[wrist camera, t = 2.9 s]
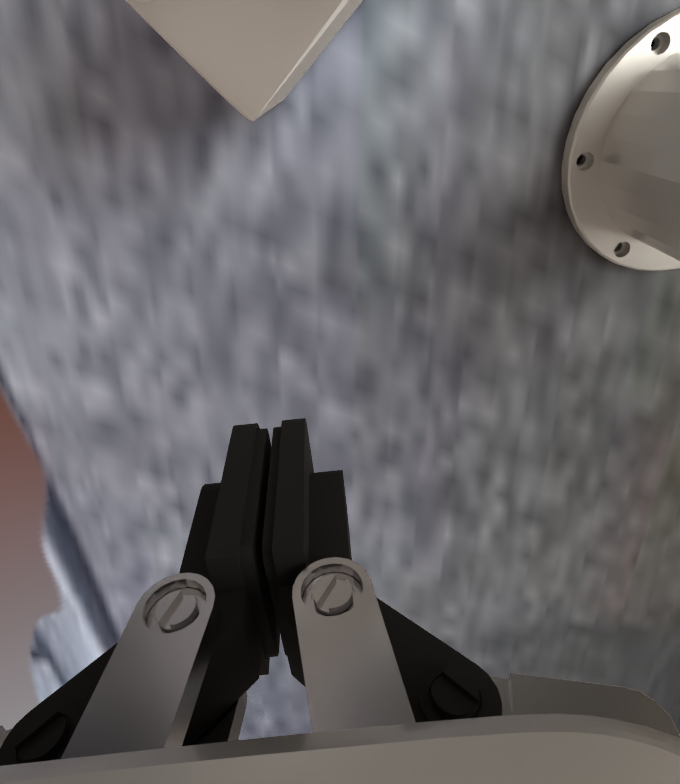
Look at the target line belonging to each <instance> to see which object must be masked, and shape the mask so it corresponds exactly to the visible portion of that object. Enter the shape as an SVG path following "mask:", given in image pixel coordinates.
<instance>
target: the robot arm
mask: <svg viewBox="0 0 680 784" xmlns="http://www.w3.org/2000/svg"><path fill="white" fill-rule="evenodd" d="M653 39H654V41H655V44H654V47H653V48H652V49H651V43H652V40H653ZM580 155H582V160H581V162H580V163H579V164H576V162H577V159H578V157H579V156H580ZM562 193H563V197H564V202H565V206H566V211H567V213H568V216H569V218H570V220H571V222H572V224H573V226H574V229H575V230H576V232H577V233H578V234H579V235H580V237H581V238H582V239H583V240H584V242H585V243H586V244H587V245H588V246H589V247H591V248H592V249H593V250H595V251H596V252H597V253H598V254H600V255H601V256H603V257H604V258H606V259H608V260H609V261H611V262H613V263H615V264H618V265H621V266H624V267H627V268H630V269H634V270H642V271H654V272H655V271H665V270H675V269H679V268H680V8H679V9H676V10H674V11H672V12H671V13H669V14H667V15H665V16H663V17H661V18H660V19H658V20H656V21H654V22H652V23H651V24H649V25H648V26H647V27H645V28H644V29H643V30H642V31H640V32H639V33H638V34H636V35H635V36H634V37H633V38H631V39H630V40H629V41H627V42H626V43H625V44H624V45H623V46H622V47H621V48H620V50H619V51H618V52H617V53H616V54H615V55H614V56H613V57H612V58H611V59H610V60H609V61H608V62H607V63H606V64H605V66H604V67H603V68H602V70H601V71H600V73H599V74H598V75H597V77H596V78H595V80H594V81H593V83H592V84H591V85H590V87H589V88H588V90H587V92H586V94H585V96H584V98H583V99H582V101H581V103H580V105H579V107H578V109H577V111H576V113H575V115H574V118H573V121H572V124H571V127H570V130H569V133H568V136H567V139H566V143H565V149H564V155H563V161H562ZM617 245H618V246H617ZM616 246H617V247H616ZM615 247H616V248H615ZM280 634H281V639H282V643H283V647H284V651H285V655H287V657H288V661H289V665H290V669H291V674H292V675H293V676H294V677H295V678H296V679H297V680H298V681H299V682H300V683H302V684H303V685H304V686H305V687H306V693H307V700H308V706H309V713H310V720H311V726H312V733H307V734H297V735H287V736H277V737H267V738H258V739H248V740H238V738H239V734H240V730H241V726H242V722H243V717H244V713H245V709H246V703H247V692H246V691H247V690H248V689H249V688H250V687H251V686H252V685H253V684H254V683H255V682H256V681H257V680H258V679H259V675H266V674H269V660H270V657H274V656H278V654H279V642H280ZM0 784H680V735H679V732H678V730H677V729H676V727H675V725H674V723H673V721H672V719H671V717H670V716H669V715H668V714H667V712H666V711H665V710H664V709H663V708H662V707H661V706H660V705H659V704H658V703H657V702H656V701H654V700H653V699H651V698H649V697H648V696H646V695H645V694H643V693H641V692H639V691H635V690H632V689H629V688H625V687H619V686H611V685H603V684H595V683H587V682H579V681H571V680H564V679H556V678H548V677H540V676H532V675H524V674H516V673H510V676H509V678H501V677H494V676H489V675H488V674H487V673H486V672H485V671H484V670H483V669H481V668H480V667H479V666H478V665H477V664H475V663H474V662H472V661H471V660H469V659H468V658H466V657H465V656H463V655H462V654H460V653H459V652H457V651H456V650H454V649H453V648H451V647H450V646H448V645H447V644H445V643H444V642H442V641H441V640H439V639H438V638H436V637H435V636H433V635H432V634H430V633H429V632H427V631H426V630H424V629H423V628H421V627H420V626H418V625H417V624H415V623H414V622H412V621H411V620H409V619H408V618H406V617H405V616H403V615H402V614H400V613H399V612H397V611H396V610H394V609H393V608H391V607H390V606H388V605H387V604H385V603H384V602H382V601H381V600H379V599H378V598H376V595H375V592H374V589H373V585H372V582H371V579H370V577H369V576H368V574H367V572H366V570H365V569H364V568H362V567H361V566H360V565H359V564H358V563H356V562H354V561H352V558H351V547H350V536H349V526H348V515H347V506H346V496H345V487H344V479H343V471H342V470H338V471H329V472H319V473H314V470H313V463H312V456H311V450H310V443H309V436H308V430H307V423H306V419H305V418H303V419H293V420H284V421H282V425H281V427H275V428H274V429H273V438H272V448H271V443H270V438H269V433H268V430H267V428H266V429H260V428H259V425H258V424H257V423H255V424H245V425H236V426H233V429H232V434H231V439H230V443H229V448H228V452H227V457H226V462H225V466H224V471H223V476H222V480H221V483H214V484H205V485H204V486H203V487H202V489H201V492H200V496H199V499H198V503H197V507H196V511H195V515H194V519H193V522H192V526H191V530H190V534H189V538H188V542H187V545H186V549H185V553H184V557H183V561H182V565H181V568H180V572H179V574H175V575H172V576H169V577H166V578H164V579H162V580H161V581H159V582H157V583H156V584H154V585H153V586H152V587H151V588H149V589H148V590H147V591H146V592H145V593H144V594H143V596H142V597H141V599H140V600H139V602H138V603H137V605H136V607H135V609H134V611H133V613H132V615H131V617H130V619H129V621H128V623H127V625H126V627H125V629H124V631H123V634H122V636H121V638H120V640H119V642H118V643H117V644H115V645H114V646H113V647H112V648H110V649H109V650H108V651H106V652H105V653H104V654H103V655H101V656H100V657H99V658H97V659H96V660H95V661H94V662H92V663H91V664H90V665H89V666H87V667H86V668H85V669H83V670H82V671H81V672H80V673H78V674H77V675H76V676H74V677H73V678H72V679H71V680H69V681H68V682H67V683H66V684H64V685H63V686H62V687H60V688H59V689H58V690H57V691H55V692H54V693H53V694H51V695H50V696H49V697H48V698H46V699H45V700H44V701H43V702H41V703H40V704H39V705H37V706H36V707H35V708H34V709H32V710H31V711H30V712H29V713H28V714H26V715H25V716H24V717H23V718H22V719H21V720H20V721H19V722H18V723H17V724H16V725H15V726H14V727H13V729H10V730H7V731H6V730H5V729H4V728H3V726H0Z"/></svg>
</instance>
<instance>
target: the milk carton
mask: <svg viewBox="0 0 680 784" xmlns="http://www.w3.org/2000/svg"><path fill="white" fill-rule="evenodd" d="M125 1H126V2H127V3H128V4H129V5H130V6H131V7H132V8H133V9H134V10H135V11H136V12H137V13H138V14H139V15H140V16H141V17H142V18H143V19H144V20H145V21H146V22H147V23H148V24H149V25H150V26H151V27H152V28H153V29H154V30H155V31H156V32H157V33H158V34H159V35H160V36H161V37H162V38H163V39H164V40H165V41H166V42H167V43H168V44H169V45H170V46H172V47H173V48H174V49H175V50H176V51H177V52H178V53H179V54H180V55H181V56H182V57H183V58H184V59H185V60H186V61H187V62H188V63H189V64H190V65H191V66H192V67H193V68H194V69H195V70H196V71H197V72H198V73H199V74H200V75H201V76H202V77H203V78H204V79H205V80H206V81H207V82H208V83H209V84H210V85H211V86H212V87H213V88H214V89H215V90H216V91H217V92H218V93H219V94H220V95H221V96H223V97H224V98H225V99H226V100H227V101H228V102H229V103H230V104H231V105H232V106H233V107H234V108H235V109H236V110H237V111H238V112H240V113H241V114H242V115H243V116H244V117H245V118H247V119H248V120H250V121H253V122H254V121H255V120H256V119H257V118H259V117H260V116H262V115H263V114H265V113H266V112H267V111H269V110H270V109H272V108H273V107H274V106H276V105H277V104H279V103H280V102H281V101H283V100H284V99H285V98H286V97H287V95H288V94H289V93H290V92H291V90H292V89H293V88H294V87H295V85H296V84H297V83H298V82H299V80H300V79H301V78H302V77H303V75H304V74H305V73H306V72H307V70H308V69H309V68H310V67H311V65H312V64H313V63H314V62H315V60H316V59H317V58H318V57H319V55H320V54H321V53H322V52H323V50H324V49H325V48H326V47H327V45H328V44H329V43H330V41H331V40H332V39H333V38H334V36H335V35H336V34H337V33H338V31H339V30H340V29H341V28H342V26H343V25H344V24H345V23H346V21H347V20H348V19H349V18H350V16H351V15H352V14H353V13H354V11H355V10H356V9H357V8H358V6H359V5H360V4H361V3H362V1H363V0H125Z"/></svg>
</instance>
